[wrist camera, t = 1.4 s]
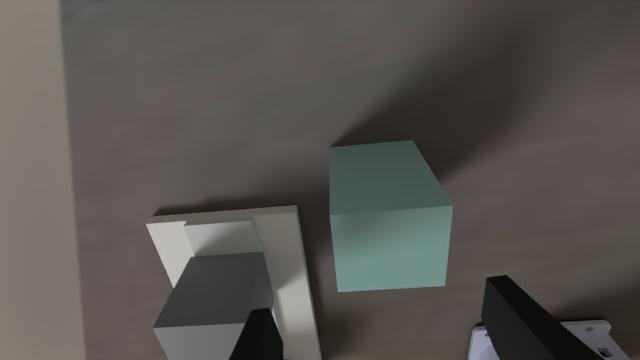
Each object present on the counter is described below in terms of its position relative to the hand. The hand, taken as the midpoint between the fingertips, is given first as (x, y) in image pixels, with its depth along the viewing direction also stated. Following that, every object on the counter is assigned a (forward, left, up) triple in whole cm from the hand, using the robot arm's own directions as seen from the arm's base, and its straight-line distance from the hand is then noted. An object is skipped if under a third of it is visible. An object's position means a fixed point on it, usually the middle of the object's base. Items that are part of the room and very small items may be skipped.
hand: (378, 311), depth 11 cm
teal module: (-1, 0, -9) cm, 9 cm away
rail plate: (+8, +11, -9) cm, 16 cm away
